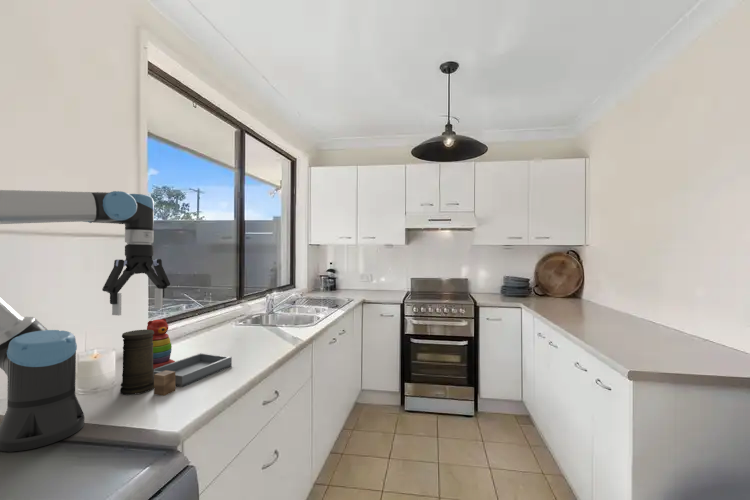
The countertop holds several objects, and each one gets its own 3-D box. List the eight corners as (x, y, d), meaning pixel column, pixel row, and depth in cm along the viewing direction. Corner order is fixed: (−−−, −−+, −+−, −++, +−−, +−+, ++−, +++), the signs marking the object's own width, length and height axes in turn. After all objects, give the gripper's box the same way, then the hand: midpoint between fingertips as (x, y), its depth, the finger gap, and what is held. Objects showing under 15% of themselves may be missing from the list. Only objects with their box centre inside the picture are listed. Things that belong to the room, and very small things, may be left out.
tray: (182, 387, 111) (182, 376, 112) (147, 381, 116) (147, 370, 116) (231, 366, 132) (231, 356, 132) (200, 362, 137) (200, 353, 137)
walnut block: (163, 396, 105) (163, 375, 105) (153, 394, 106) (154, 374, 106) (175, 391, 108) (175, 371, 109) (165, 389, 110) (165, 370, 110)
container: (161, 384, 114) (161, 329, 114) (140, 395, 105) (140, 335, 105) (135, 383, 114) (136, 328, 115) (112, 394, 106) (113, 334, 106)
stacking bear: (146, 373, 124) (147, 323, 124) (135, 368, 130) (136, 320, 130) (178, 366, 132) (179, 319, 133) (167, 361, 138) (167, 316, 139)
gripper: (106, 242, 97) (105, 319, 97) (182, 244, 121) (181, 306, 120) (87, 242, 100) (86, 317, 99) (165, 245, 123) (165, 305, 123)
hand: (138, 311), depth 110 cm, fingers open, 13 cm apart
